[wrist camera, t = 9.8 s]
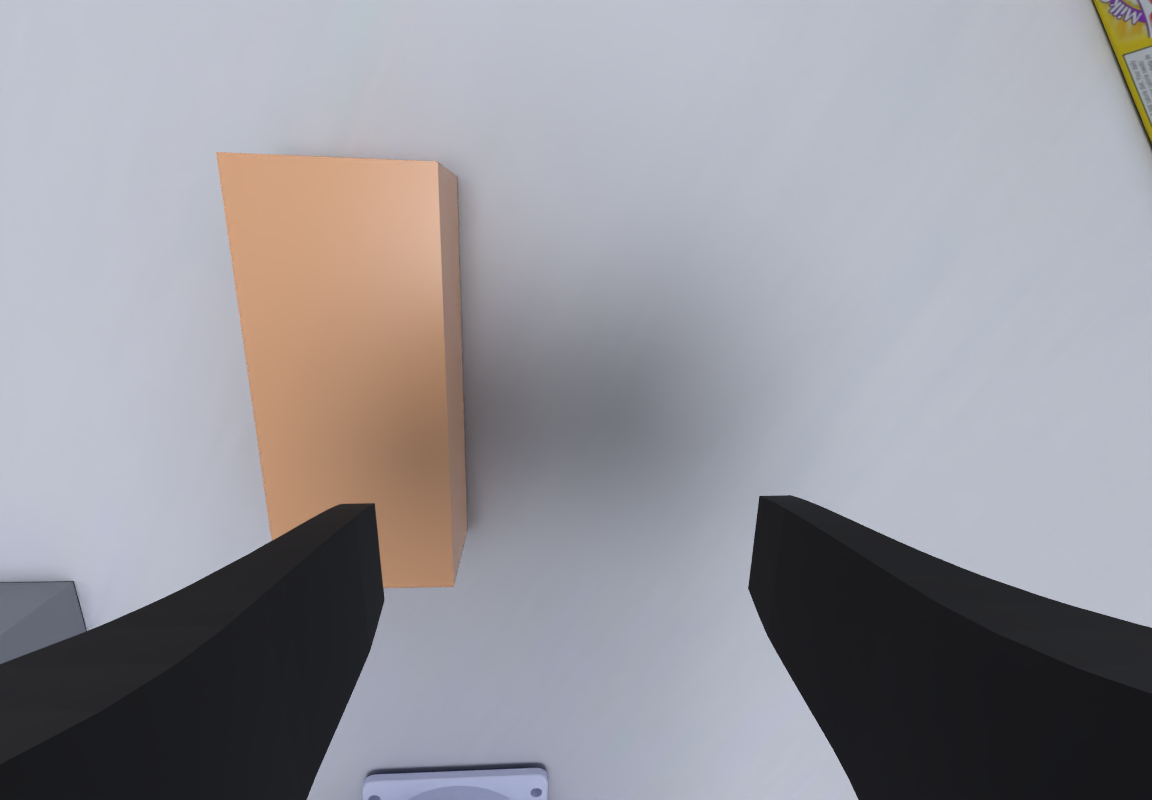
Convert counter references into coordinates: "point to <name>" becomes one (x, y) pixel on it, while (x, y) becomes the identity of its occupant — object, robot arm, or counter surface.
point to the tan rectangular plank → (355, 346)
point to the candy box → (1132, 48)
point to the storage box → (37, 616)
